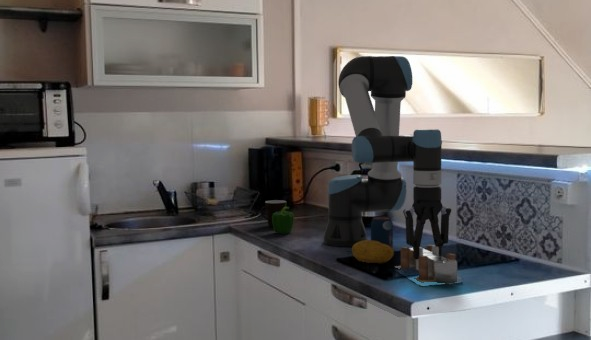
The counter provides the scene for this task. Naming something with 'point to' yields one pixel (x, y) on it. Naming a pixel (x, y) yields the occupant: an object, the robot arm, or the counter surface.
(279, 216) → the bell pepper
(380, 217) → the soda can
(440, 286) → the counter surface
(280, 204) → the coffee mug
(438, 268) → the grey ridged block
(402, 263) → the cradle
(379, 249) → the potato
